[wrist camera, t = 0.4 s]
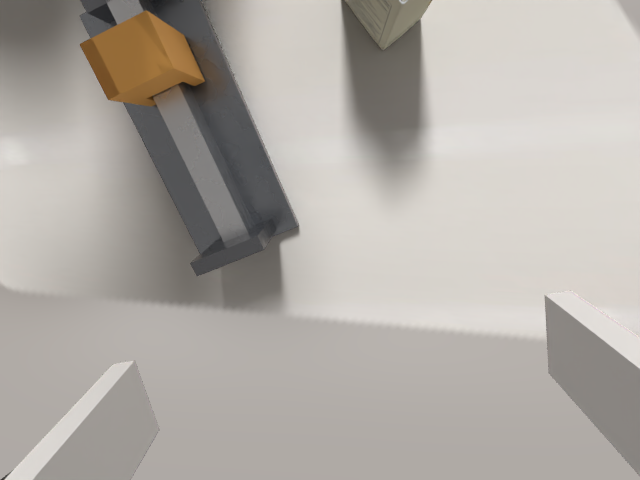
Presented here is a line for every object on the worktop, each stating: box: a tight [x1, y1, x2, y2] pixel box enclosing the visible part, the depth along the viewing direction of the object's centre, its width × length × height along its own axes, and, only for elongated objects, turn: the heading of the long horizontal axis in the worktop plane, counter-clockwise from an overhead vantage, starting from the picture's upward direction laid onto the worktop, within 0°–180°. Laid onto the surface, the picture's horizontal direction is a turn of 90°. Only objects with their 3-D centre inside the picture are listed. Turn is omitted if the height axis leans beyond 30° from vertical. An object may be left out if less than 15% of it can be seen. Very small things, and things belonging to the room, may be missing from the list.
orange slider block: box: [80, 10, 205, 107], centre depth 31 cm, size 4×5×7 cm
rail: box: [80, 0, 299, 276], centre depth 33 cm, size 24×10×8 cm, turn 23°
